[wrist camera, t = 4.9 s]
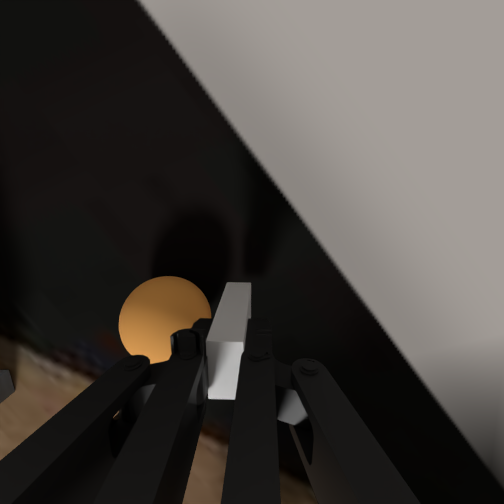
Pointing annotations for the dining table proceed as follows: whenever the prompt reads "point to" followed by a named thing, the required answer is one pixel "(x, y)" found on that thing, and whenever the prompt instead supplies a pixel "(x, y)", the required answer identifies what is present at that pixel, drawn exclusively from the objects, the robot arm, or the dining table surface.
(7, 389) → the bridge
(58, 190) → the dining table surface
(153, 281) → the ball
